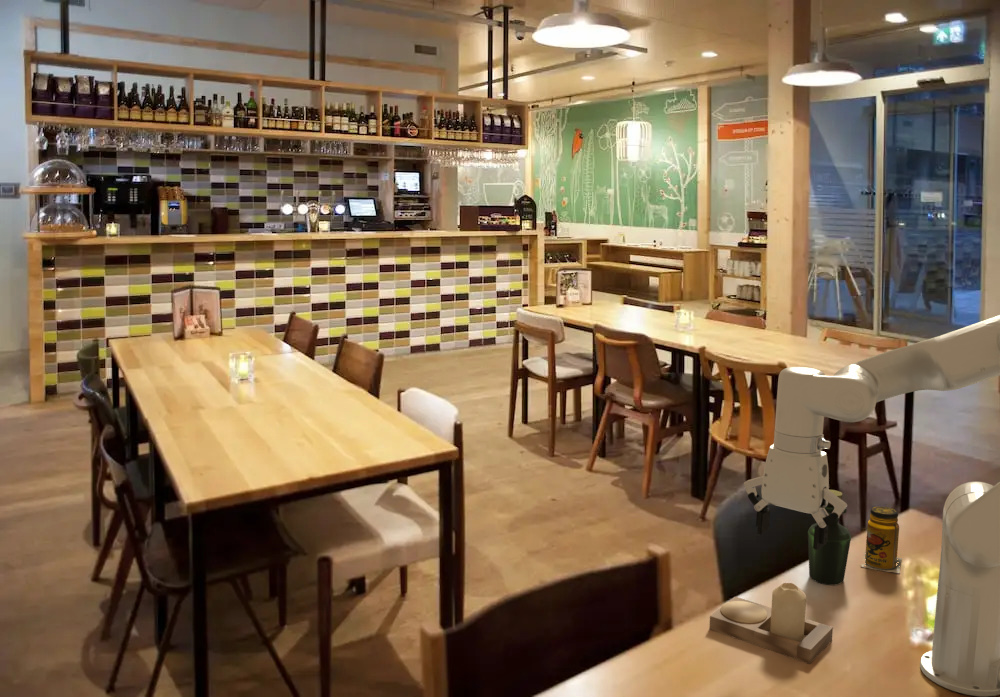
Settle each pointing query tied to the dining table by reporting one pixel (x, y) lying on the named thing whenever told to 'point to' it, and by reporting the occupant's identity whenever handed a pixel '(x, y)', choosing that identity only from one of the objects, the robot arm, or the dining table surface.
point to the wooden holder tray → (755, 623)
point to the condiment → (882, 540)
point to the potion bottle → (829, 551)
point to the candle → (788, 612)
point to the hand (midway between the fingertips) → (790, 539)
